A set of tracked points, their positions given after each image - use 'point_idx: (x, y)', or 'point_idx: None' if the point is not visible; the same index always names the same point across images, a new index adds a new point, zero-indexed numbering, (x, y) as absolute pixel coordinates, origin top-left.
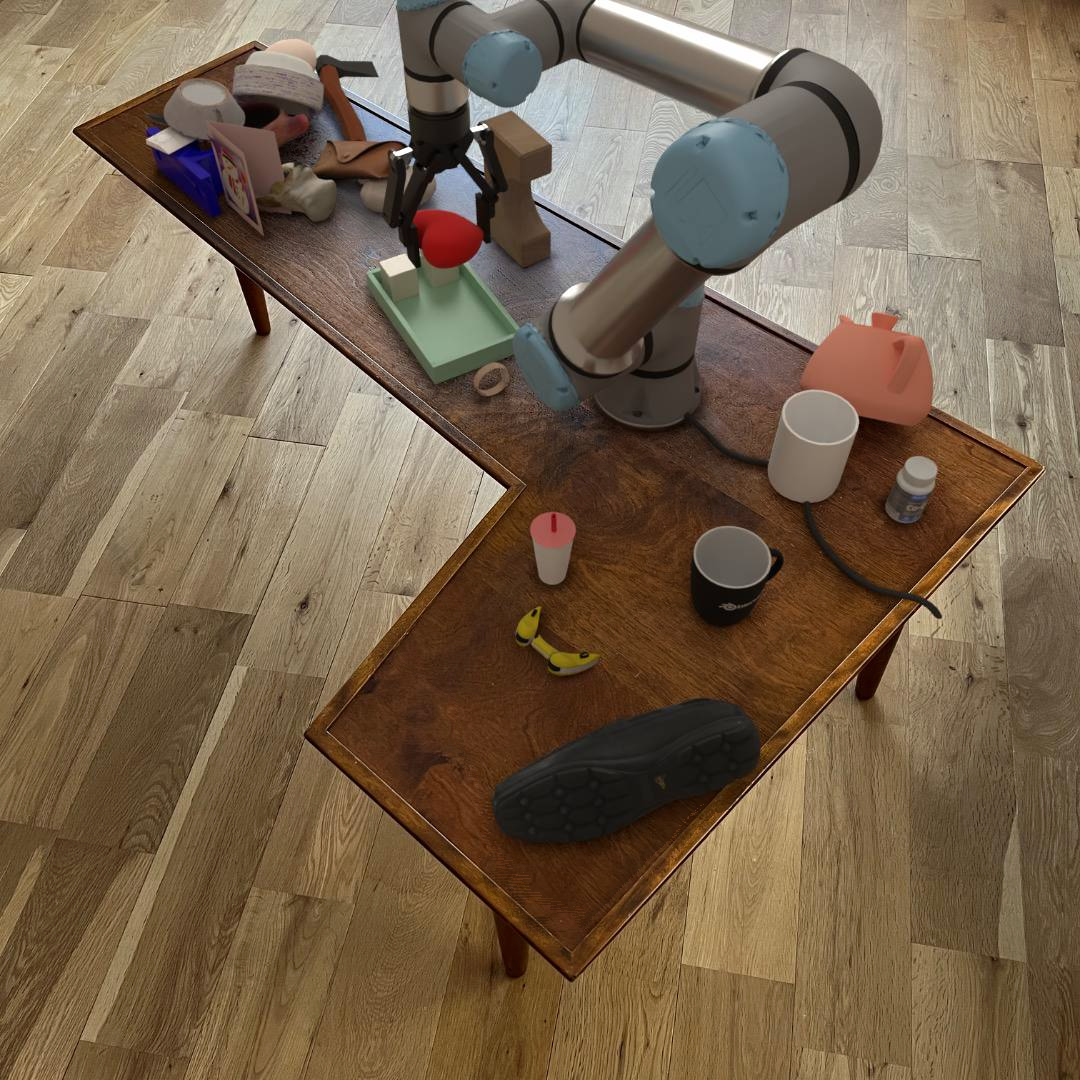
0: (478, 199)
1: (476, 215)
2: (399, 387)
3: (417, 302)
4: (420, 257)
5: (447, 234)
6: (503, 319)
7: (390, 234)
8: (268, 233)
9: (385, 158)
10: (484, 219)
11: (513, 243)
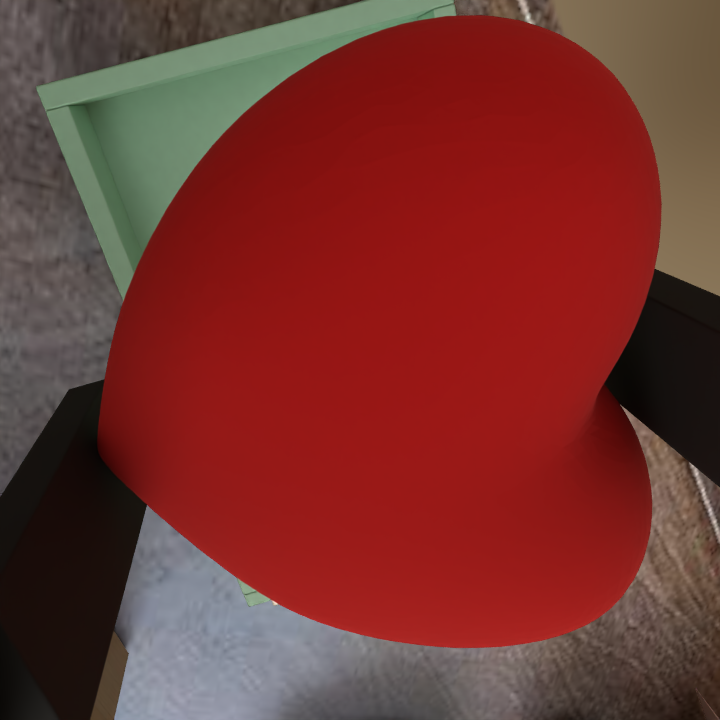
0: (56, 682)
1: (125, 574)
2: (545, 18)
3: None
4: None
5: (475, 246)
6: (121, 222)
7: (401, 670)
8: (680, 696)
9: None
10: (53, 491)
11: None
